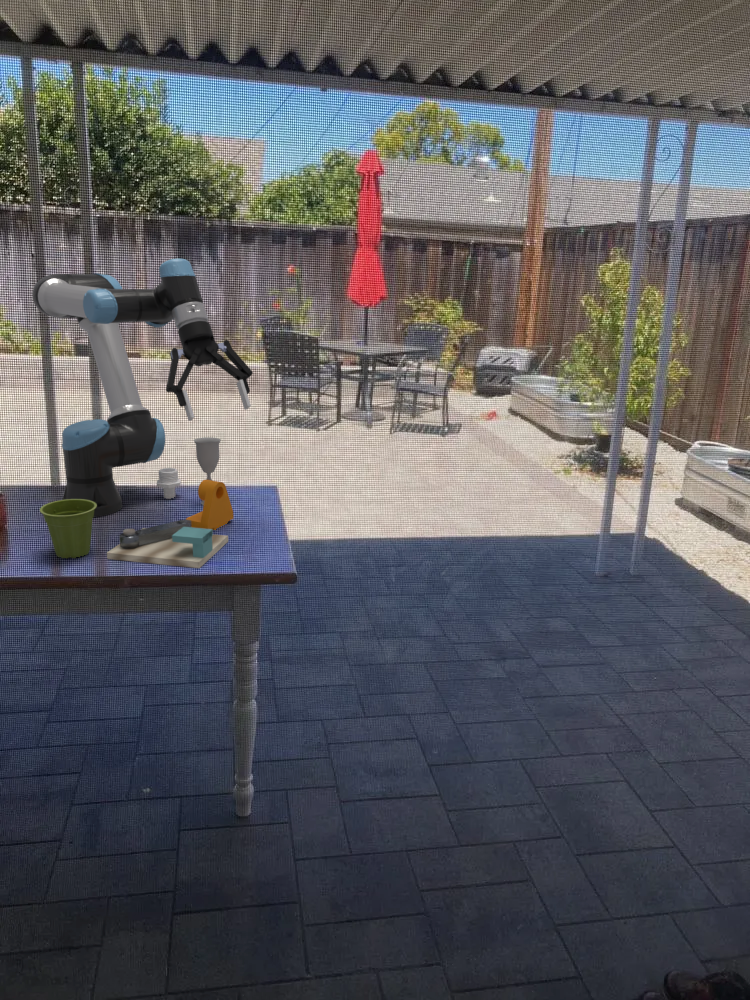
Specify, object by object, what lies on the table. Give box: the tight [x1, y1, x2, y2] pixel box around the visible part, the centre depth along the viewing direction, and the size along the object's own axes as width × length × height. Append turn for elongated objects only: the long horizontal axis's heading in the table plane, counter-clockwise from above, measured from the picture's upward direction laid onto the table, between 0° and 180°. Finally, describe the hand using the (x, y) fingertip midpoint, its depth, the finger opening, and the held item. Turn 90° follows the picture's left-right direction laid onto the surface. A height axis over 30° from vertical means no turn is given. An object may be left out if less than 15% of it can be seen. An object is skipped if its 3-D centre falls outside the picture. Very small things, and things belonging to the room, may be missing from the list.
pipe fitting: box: [156, 467, 182, 500], centre depth 210 cm, size 6×7×8 cm
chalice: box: [193, 436, 222, 506], centre depth 204 cm, size 7×7×18 cm
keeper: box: [172, 527, 214, 558], centre depth 167 cm, size 7×6×5 cm
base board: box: [106, 527, 229, 569], centre depth 172 cm, size 22×17×5 cm
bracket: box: [185, 479, 235, 531], centre depth 188 cm, size 11×7×12 cm, turn 155°
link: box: [118, 519, 192, 549], centre depth 174 cm, size 18×4×2 cm, turn 134°
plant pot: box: [39, 499, 97, 559], centre depth 167 cm, size 12×12×11 cm
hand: (220, 413), depth 170 cm, fingers open, 13 cm apart
